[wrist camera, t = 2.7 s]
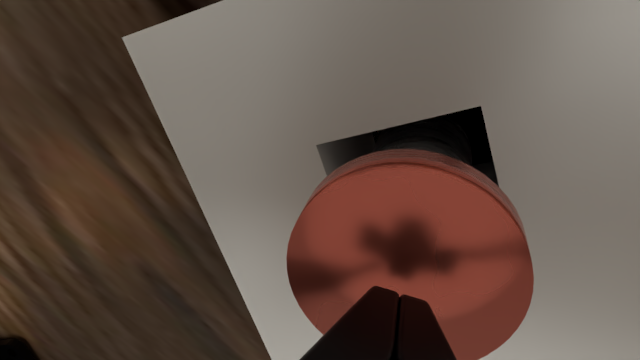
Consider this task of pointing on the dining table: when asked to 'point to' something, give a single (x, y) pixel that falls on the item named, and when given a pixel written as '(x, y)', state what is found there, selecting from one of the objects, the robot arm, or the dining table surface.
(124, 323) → the dining table surface
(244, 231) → the button block
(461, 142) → the plunger
